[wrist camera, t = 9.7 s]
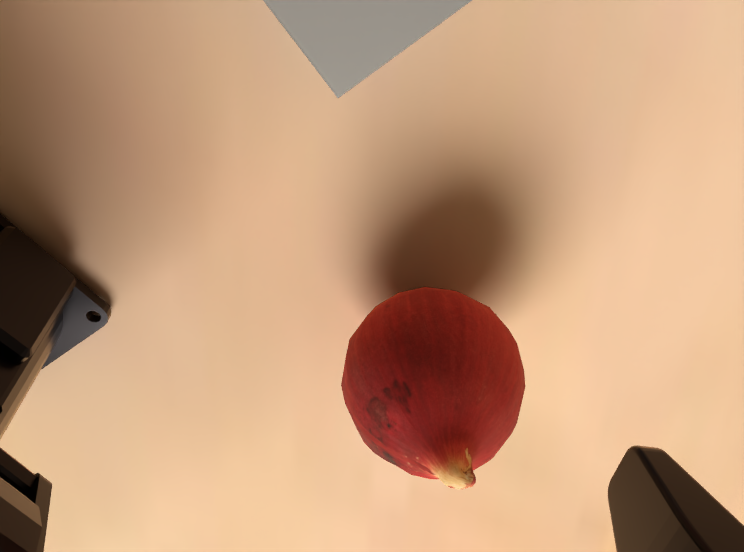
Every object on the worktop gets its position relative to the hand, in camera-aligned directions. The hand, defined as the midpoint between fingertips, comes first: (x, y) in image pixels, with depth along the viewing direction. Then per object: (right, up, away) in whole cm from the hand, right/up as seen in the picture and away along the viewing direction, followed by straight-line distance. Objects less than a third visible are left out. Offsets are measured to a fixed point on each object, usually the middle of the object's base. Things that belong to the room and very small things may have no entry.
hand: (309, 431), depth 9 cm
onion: (+3, +1, +16) cm, 16 cm away
